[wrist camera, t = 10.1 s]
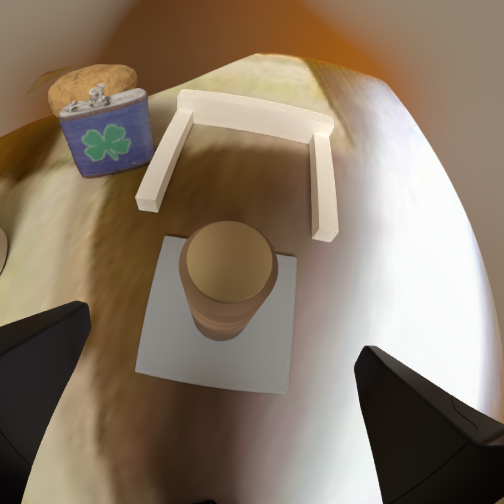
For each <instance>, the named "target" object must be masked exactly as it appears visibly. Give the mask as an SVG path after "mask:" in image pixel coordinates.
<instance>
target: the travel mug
mask: <svg viewBox="0 0 504 504" xmlns="http://www.w3.org/2000/svg"><path fill="white" fill-rule="evenodd" d="M6 254H7V237H6V234H5V232H4V231H3V230H2V229H1V228H0V272H1V270H2V268H3V265H4V262H5V259H6Z"/></svg>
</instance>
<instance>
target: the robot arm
mask: <svg viewBox="0 0 504 504" xmlns="http://www.w3.org/2000/svg"><path fill="white" fill-rule="evenodd" d="M90 330H91V320H90V313H89V306H88V304H87V303H84V302H81V301H73V302H70V303H67V304H64V305H61V306H59V307H56V308H53V309H50V310H47V311H44V312H41V313H38V314H35V315H32V316H30V317H27V318H24V319H21V320H18V321H15V322H12V323H10V324H7V325H4V326H1V327H0V504H21V502H22V498H23V495H24V491H25V488H26V484H27V481H28V478H29V475H30V472H31V469H32V465H33V462H34V460H35V457H36V454H37V451H38V449H39V446H40V444H41V441H42V439H43V436H44V434H45V431H46V429H47V426H48V424H49V422H50V419H51V417H52V415H53V413H54V410H55V408H56V406H57V404H58V402H59V400H60V398H61V395H62V393H63V391H64V389H65V387H66V385H67V383H68V381H69V379H70V377H71V375H72V373H73V371H74V369H75V367H76V365H77V363H78V360H79V357H80V355H81V352H82V350H83V347H84V345H85V343H86V340H87V338H88V336H89V333H90ZM354 373H355V378H356V384H357V390H358V396H359V402H360V407H361V411H362V415H363V419H364V423H365V426H366V430H367V434H368V438H369V442H370V446H371V450H372V454H373V459H374V463H375V467H376V472H377V477H378V481H379V486H380V491H381V496H382V501H383V504H504V424H502V423H500V422H498V421H496V420H494V419H492V418H490V417H489V416H487V415H485V414H483V413H481V412H479V411H477V410H476V409H474V408H472V407H470V406H468V405H467V404H465V403H463V402H462V401H460V400H459V399H457V398H455V397H454V396H452V395H450V394H449V393H448V392H446V391H444V390H443V389H441V388H440V387H438V386H437V385H435V384H434V383H432V382H431V381H429V380H427V379H426V378H424V377H423V376H421V375H420V374H418V373H417V372H415V371H414V370H412V369H411V368H409V367H407V366H406V365H404V364H403V363H401V362H400V361H398V360H397V359H395V358H394V357H392V356H391V355H389V354H388V353H386V352H385V351H383V350H381V349H380V348H378V347H377V346H365V347H363V349H362V351H361V353H360V355H359V357H358V359H357V361H356V363H355V366H354ZM210 503H212V504H218V503H217V502H216V501H215V500H212V499H209V500H205V501H202V502H199V503H195V504H210Z"/></svg>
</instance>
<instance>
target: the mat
mask: <svg viewBox="0 0 504 504" xmlns="http://www.w3.org/2000/svg"><path fill="white" fill-rule="evenodd" d="M186 241H187V239H183V238H177V237H171V236H165V237H164V241H163V244H162V248H161V252H160V255H159V259H158V263H157V267H156V271H155V275H154V279H153V283H152V287H151V291H150V296H149V300H148V304H147V309H146V314H145V319H144V323H143V329H142V334H141V339H140V344H139V350H138V356H137V362H136V368H135V372H139V373H143V374H147V375H151V376H155V377H160V378H164V379H169V380H174V381H179V382H184V383H190V384H195V385H202V386H208V387H215V388H222V389H230V390H238V391H248V392H259V393H273V394H288V384H289V373H290V362H291V350H292V337H293V323H294V308H295V290H296V270H297V258H296V257H291V256H285V255H279V254H276V256H277V260H278V277H277V281H276V283H275V286H274V288H273V290H272V291H271V293H270V294H269V296H268V297H267V298H266V300H265V301H264V303H263V304H262V305H261V307H260V308H259V309H258V311H257V312H256V313H255V315H254V316H253V318H252V319H251V320H250V322H249V323H248V324H247V326H246V327H245V328H244V330H243V331H242V332H241V333H240V334H239V335H238V336H236V337H235V338H233V339H230V340H227V341H215V340H211V339H209V338H207V337H205V336H204V335H203V334H201V333H200V331H199V330H198V329H197V327H196V325H195V323H194V320H193V317H192V314H191V311H190V308H189V305H188V301H187V298H186V295H185V292H184V288H183V285H182V282H181V278H180V274H179V257H180V253H181V250H182V248H183V246H184V244H185V242H186Z"/></svg>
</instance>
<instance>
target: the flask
mask: <svg viewBox="0 0 504 504" xmlns="http://www.w3.org/2000/svg"><path fill="white" fill-rule="evenodd" d="M97 86H99V87H93V88H92V89H90V91H89V95H91V96H90V97H89V98H88V99H87V101H78V102H76V101H75V100H74V101H72V103H71V104H69V105H67V106H66V107H64V108H63V109H62V110H61V111H60V112H59V116H58V118H59V122H60V125H61V127H62V130H63V133H64V135H65V138H66V140H67V143H68V146H69V148H70V150H71V153H72V156H73V158H74V161H75V164H76V166H77V168H78V170H79V172H80V174H81V176H82V178H85V179H92V178H101V177H108V176H111V175H115V174H117V173H123V172H126V171H130V170H133V169H137V168H141V167H143V166H145V165H148V164H150V163H151V160H152V158H153V156H154V154H155V151H154V145H153V140H152V130H151V126H150V117H149V111H148V96H147V92H146V91H145V90H143V89H141V88H135V89H131V90H128V91H124V92H121V93H116V94H113V95H109V96H105V95H104V92H103V91H104V89H103V88H104V87H105V84H104V83H103V84H100V83H99V84H97Z"/></svg>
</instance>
